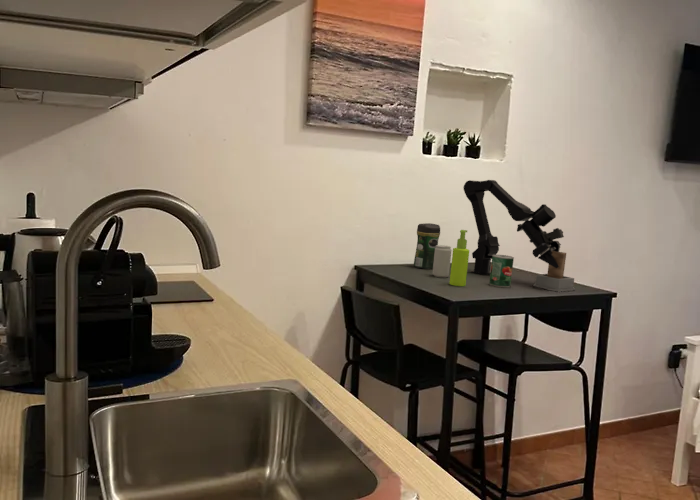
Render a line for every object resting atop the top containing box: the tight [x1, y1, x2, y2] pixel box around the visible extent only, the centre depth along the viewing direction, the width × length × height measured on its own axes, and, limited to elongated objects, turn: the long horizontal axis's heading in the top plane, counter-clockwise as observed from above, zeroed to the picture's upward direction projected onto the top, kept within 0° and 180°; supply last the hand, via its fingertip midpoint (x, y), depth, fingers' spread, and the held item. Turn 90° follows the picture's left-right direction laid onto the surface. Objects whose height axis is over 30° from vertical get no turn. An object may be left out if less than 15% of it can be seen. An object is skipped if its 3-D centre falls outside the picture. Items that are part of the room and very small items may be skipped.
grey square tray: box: [533, 273, 576, 293], centre depth 244 cm, size 11×11×4 cm
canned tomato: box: [488, 254, 515, 288], centre depth 240 cm, size 8×8×11 cm
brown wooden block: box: [546, 251, 567, 279], centre depth 243 cm, size 5×4×13 cm
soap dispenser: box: [448, 229, 470, 287], centre depth 233 cm, size 6×7×20 cm
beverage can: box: [432, 244, 453, 278], centre depth 248 cm, size 6×6×12 cm
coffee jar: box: [413, 222, 441, 270], centre depth 266 cm, size 10×8×19 cm
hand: (560, 266), depth 242 cm, fingers open, 8 cm apart
